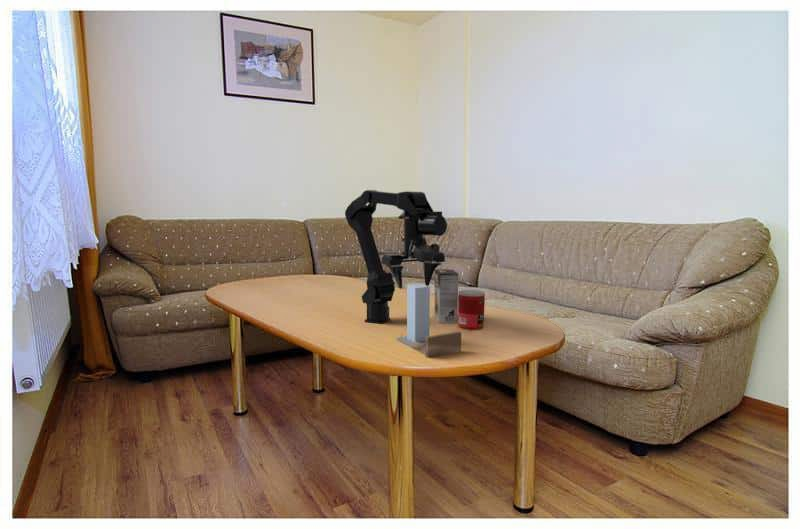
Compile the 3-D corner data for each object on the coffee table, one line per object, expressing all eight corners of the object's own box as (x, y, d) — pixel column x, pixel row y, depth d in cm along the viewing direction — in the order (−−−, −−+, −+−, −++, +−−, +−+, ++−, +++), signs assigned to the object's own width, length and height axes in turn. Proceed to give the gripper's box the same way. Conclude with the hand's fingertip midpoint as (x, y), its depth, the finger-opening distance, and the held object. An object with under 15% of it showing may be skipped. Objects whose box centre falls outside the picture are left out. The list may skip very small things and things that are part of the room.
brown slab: (410, 348, 123) (410, 329, 123) (442, 342, 128) (442, 325, 127) (427, 357, 116) (428, 337, 115) (461, 351, 120) (461, 332, 120)
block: (407, 338, 131) (407, 285, 129) (421, 336, 133) (421, 284, 131) (415, 342, 127) (415, 288, 125) (429, 340, 129) (429, 286, 127)
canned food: (483, 330, 140) (484, 294, 139) (456, 329, 142) (457, 293, 141) (484, 324, 148) (485, 290, 146) (458, 323, 149) (459, 289, 148)
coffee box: (433, 316, 158) (434, 269, 156) (452, 316, 159) (453, 269, 157) (438, 323, 149) (438, 273, 147) (458, 322, 150) (458, 272, 148)
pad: (396, 339, 132) (396, 337, 131) (423, 335, 136) (423, 333, 136) (412, 347, 124) (412, 346, 124) (440, 343, 128) (440, 341, 128)
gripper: (398, 237, 127) (399, 294, 128) (455, 235, 135) (455, 288, 137) (380, 235, 136) (381, 288, 138) (435, 233, 145) (434, 283, 147)
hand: (413, 287), depth 140 cm, fingers open, 9 cm apart
